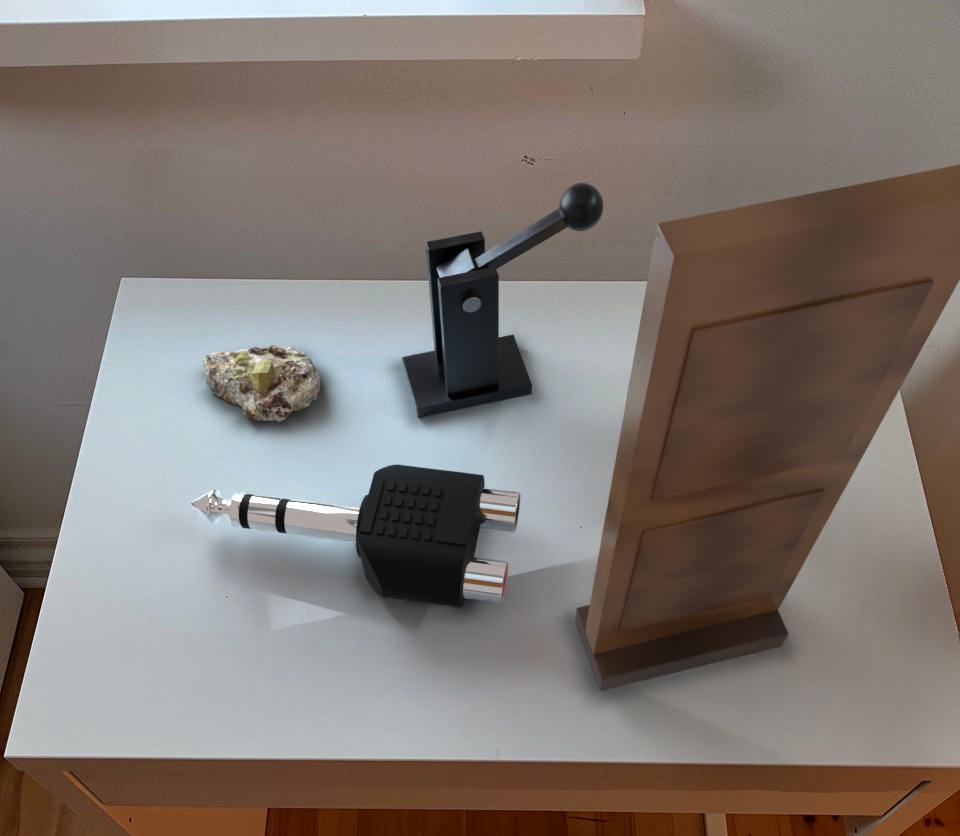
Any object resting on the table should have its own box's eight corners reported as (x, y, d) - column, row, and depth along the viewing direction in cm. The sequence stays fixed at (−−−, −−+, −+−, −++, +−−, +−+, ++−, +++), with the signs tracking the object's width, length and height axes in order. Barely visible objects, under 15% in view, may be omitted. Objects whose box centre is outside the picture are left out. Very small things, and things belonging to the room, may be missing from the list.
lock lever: (601, 197, 69) (587, 164, 66) (614, 225, 68) (600, 193, 65) (451, 286, 73) (431, 259, 70) (460, 314, 71) (441, 288, 68)
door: (750, 578, 70) (961, 128, 38) (782, 646, 68) (1036, 223, 36) (574, 620, 69) (640, 189, 37) (599, 691, 66) (693, 293, 34)
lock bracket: (513, 344, 82) (515, 219, 70) (532, 394, 79) (537, 272, 68) (402, 366, 81) (387, 243, 69) (417, 418, 78) (404, 299, 67)
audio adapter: (500, 589, 64) (156, 543, 66) (500, 626, 69) (179, 581, 71) (523, 464, 69) (202, 425, 71) (521, 506, 74) (220, 468, 76)
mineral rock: (336, 340, 79) (298, 388, 74) (341, 385, 82) (304, 435, 77) (222, 320, 81) (176, 365, 76) (230, 365, 84) (187, 411, 79)
